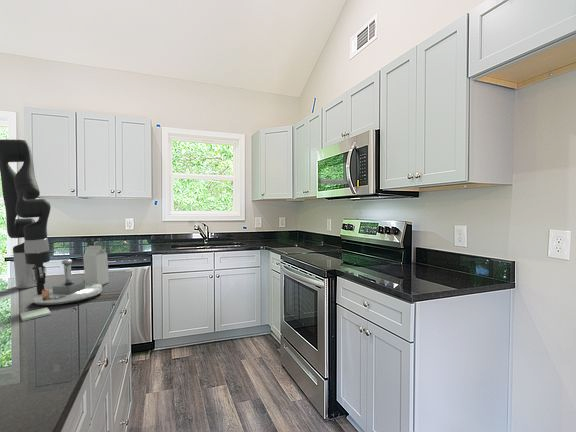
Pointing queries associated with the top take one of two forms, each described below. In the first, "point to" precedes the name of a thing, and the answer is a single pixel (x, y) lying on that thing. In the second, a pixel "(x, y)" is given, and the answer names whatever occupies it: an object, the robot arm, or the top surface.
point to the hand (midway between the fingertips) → (40, 293)
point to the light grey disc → (67, 293)
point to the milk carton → (96, 265)
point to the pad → (35, 314)
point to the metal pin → (67, 271)
